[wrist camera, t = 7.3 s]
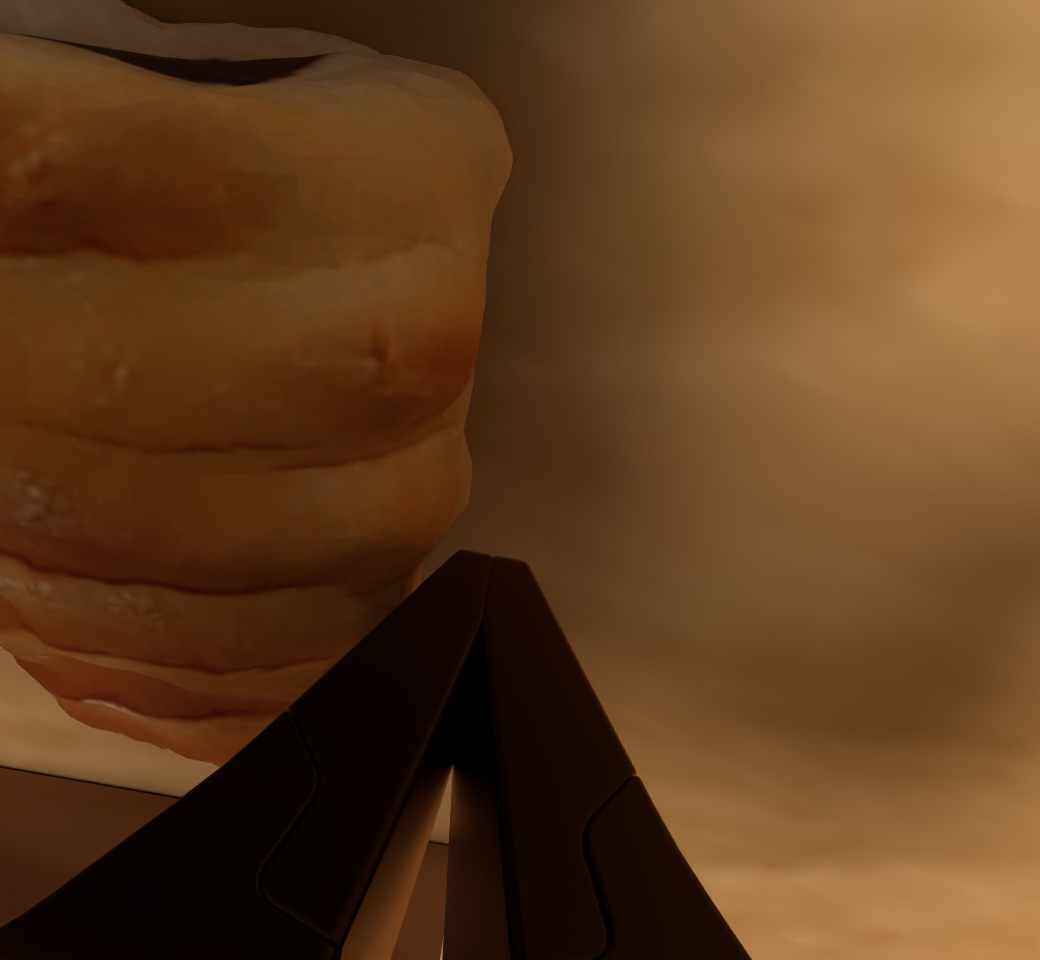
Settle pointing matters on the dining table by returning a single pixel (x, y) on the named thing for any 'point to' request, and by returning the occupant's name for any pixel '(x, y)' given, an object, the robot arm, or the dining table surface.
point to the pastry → (226, 355)
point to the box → (117, 814)
